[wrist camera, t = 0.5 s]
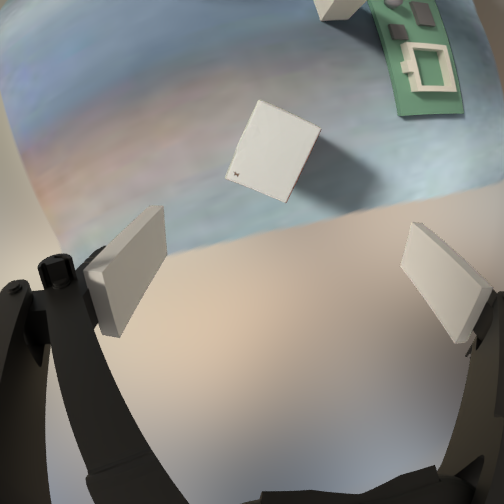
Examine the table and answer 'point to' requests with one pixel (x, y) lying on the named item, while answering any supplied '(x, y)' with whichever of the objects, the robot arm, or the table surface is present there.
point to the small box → (272, 151)
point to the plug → (337, 9)
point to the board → (417, 57)
